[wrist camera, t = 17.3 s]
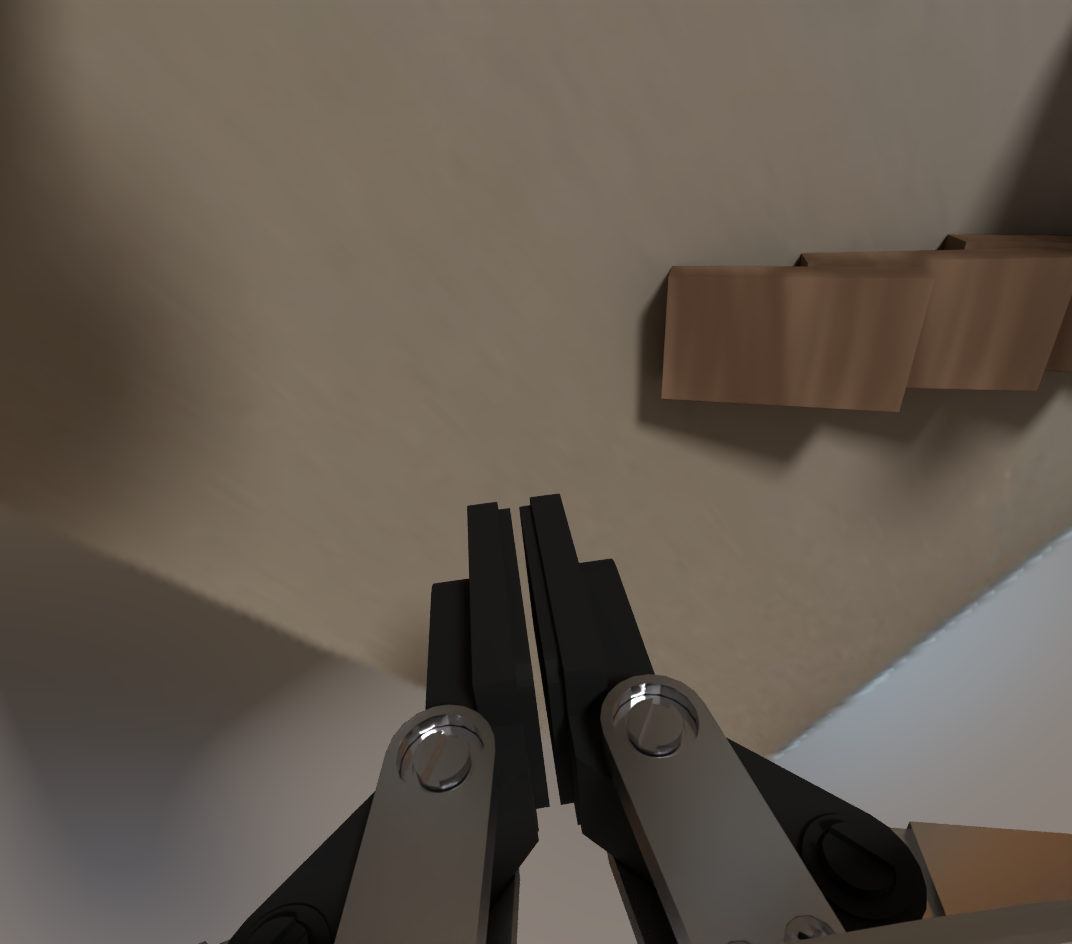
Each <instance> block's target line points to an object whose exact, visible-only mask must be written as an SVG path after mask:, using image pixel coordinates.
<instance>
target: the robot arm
mask: <svg viewBox="0 0 1072 944" xmlns="http://www.w3.org/2000/svg"><path fill="white" fill-rule="evenodd" d="M519 509H520V518H521V526H522V534H523V543H524V551H525V559H526V568H527V576H528V584H529V593H530V601H531V609H532V618H533V625H534V632H535V639H536V645H537V652H538V659H539V665H540V672H541V678H542V685H543V691H544V698H545V704H546V711H547V717H548V724H549V731H550V737H551V744H552V750H553V757H554V763H555V770H556V776H557V783H558V789H559V796H560V802H561V805H563V804H569V803H574V805H575V811H576V817H577V822H578V825H581V829H582V833H583V834H584V835H585V836H587V837H588V838H589V839H591V840H592V841H593V842H595V843H596V844H597V845H599V846H600V847H601V848H603V849H604V850H606V851H607V854H608V860H609V864H610V867H611V870H612V873H613V876H614V879H615V881H616V884H617V887H618V890H619V893H620V895H621V898H622V901H623V904H624V907H625V909H626V912H627V915H628V918H629V921H630V924H631V926H632V929H633V932H634V935H635V938H636V941H637V944H1072V834H1066V833H1052V832H1040V831H1026V830H1014V829H1001V828H987V827H975V826H962V825H949V824H936V823H923V822H909V824H908V827H907V829H901V828H889V827H888V826H886V825H885V824H883V823H882V822H880V821H879V820H877V819H876V818H875V817H873V816H872V815H870V814H868V813H866V812H864V811H863V810H861V809H859V808H857V807H855V806H853V805H851V804H849V803H847V802H846V801H844V800H842V799H840V798H838V797H836V796H834V795H833V794H831V793H829V792H827V791H825V790H823V789H821V788H820V787H818V786H816V785H814V784H812V783H810V782H808V781H806V780H805V779H803V778H801V777H799V776H797V775H795V774H793V773H791V772H790V771H788V770H786V769H784V768H782V767H780V766H778V765H777V764H775V763H773V762H771V761H769V760H767V759H765V758H764V757H762V756H760V755H758V754H756V753H754V752H752V751H750V750H749V749H747V748H745V747H743V746H741V745H739V744H737V743H736V742H734V741H732V740H730V739H728V738H726V737H725V735H724V733H723V732H722V730H721V729H720V727H719V725H718V724H717V722H716V720H715V719H714V717H713V716H712V714H711V712H710V711H709V709H708V708H707V706H706V704H705V703H704V702H703V700H702V699H701V698H700V697H699V696H698V694H697V693H696V692H695V691H694V690H692V689H691V688H689V687H688V686H687V685H685V684H684V683H682V682H681V681H678V680H675V679H672V678H670V677H667V676H661V675H655V674H654V671H653V668H652V665H651V663H650V660H649V657H648V654H647V651H646V649H645V646H644V643H643V640H642V637H641V635H640V632H639V629H638V626H637V623H636V621H635V618H634V615H633V612H632V609H631V606H630V604H629V601H628V598H627V595H626V592H625V590H624V587H623V584H622V581H621V578H620V576H619V573H618V570H617V567H616V565H615V562H614V561H613V559H605V560H598V561H591V562H583V563H579V562H578V558H577V555H576V551H575V547H574V544H573V540H572V536H571V533H570V529H569V526H568V522H567V518H566V515H565V511H564V507H563V504H562V500H561V497H560V494H552V495H544V496H537V497H530V505H529V506H522V507H519ZM467 517H468V550H469V579H463V580H456V581H449V582H442V583H435V584H433V586H432V592H431V610H430V629H429V649H428V669H427V689H426V710H425V711H423V712H420V713H418V714H416V715H415V716H414V717H412V718H411V719H410V720H408V721H407V722H406V723H404V724H403V725H402V726H401V728H400V729H399V730H398V731H397V733H396V734H395V735H394V736H393V738H392V740H391V742H390V744H389V747H388V749H387V751H386V754H385V758H384V761H383V765H382V768H381V772H380V776H379V780H378V783H377V787H376V791H375V792H374V793H373V794H372V795H371V796H370V797H369V798H368V799H367V800H366V801H365V802H364V803H363V804H362V805H361V806H360V807H359V808H358V809H357V810H356V811H355V812H354V813H353V814H352V815H351V816H350V817H349V818H348V819H347V820H346V821H345V822H344V823H343V824H342V825H341V826H340V827H339V828H338V829H337V830H336V831H335V832H334V833H333V834H332V835H331V836H330V837H329V838H328V839H327V840H326V841H325V842H324V843H323V844H322V845H321V846H320V847H319V848H318V849H317V850H316V851H315V852H314V853H313V854H312V855H311V856H310V857H309V858H308V859H307V860H306V861H305V862H304V863H303V864H302V865H301V866H300V867H299V868H298V869H297V870H296V871H295V872H294V873H293V874H292V875H291V876H290V877H289V878H288V879H287V880H286V881H285V882H284V883H283V884H282V885H281V886H280V887H279V888H278V889H277V890H276V891H275V892H274V893H273V894H272V895H271V896H270V897H269V898H268V899H267V900H266V901H265V902H264V903H263V904H262V905H261V906H260V907H259V908H258V909H257V910H256V911H255V912H254V913H253V914H252V915H251V916H250V917H249V918H248V919H247V920H246V921H245V922H244V923H243V924H242V926H241V927H240V928H239V929H238V931H237V932H236V933H235V934H234V935H233V937H232V938H231V939H230V940H228V941H225V942H223V943H220V944H517V928H518V927H517V926H518V909H519V888H520V873H519V867H520V865H521V864H522V863H523V861H524V860H525V859H526V857H527V856H528V854H529V853H530V852H531V850H532V849H533V848H534V846H535V845H536V844H537V842H538V841H539V839H538V831H539V829H538V821H537V812H536V809H538V808H544V807H550V806H549V798H548V789H547V782H546V774H545V766H544V758H543V751H542V742H541V735H540V727H539V719H538V711H537V703H536V696H535V688H534V680H533V673H532V665H531V658H530V651H529V644H528V636H527V629H526V622H525V615H524V607H523V600H522V593H521V586H520V578H519V571H518V564H517V557H516V549H515V542H514V535H513V528H512V520H511V513H510V508H507V509H500V510H498V504H497V502H492V503H485V504H477V505H470V506H467ZM200 944H207V943H206V941H204V942H202V943H200Z"/></svg>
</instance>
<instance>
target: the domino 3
mask: <svg viewBox="0 0 1072 944" xmlns="http://www.w3.org/2000/svg"><path fill="white" fill-rule="evenodd" d="M1052 247H1058V248H1061V249H1064V250H1066V251H1069V252H1072V235H948V236H947V239H946V243H945V246H944V250H970V249H1011V248H1052ZM1045 371H1064V372H1072V295H1071V298H1070V301H1069V304H1068V306H1067V309H1066V312H1065V315H1064V318H1063V320H1062V323H1061V326H1060V329H1059V332H1058V334H1057V337H1056V340H1055V343H1054V346H1053V348H1052V351H1051V354H1050V357H1049V360H1048V362H1047V365H1046V368H1045Z"/></svg>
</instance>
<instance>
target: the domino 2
mask: <svg viewBox="0 0 1072 944" xmlns="http://www.w3.org/2000/svg"><path fill="white" fill-rule="evenodd" d="M800 267H920V268H922V269H923V270H924V271H926V272H927V273H928V274H930V275H931V276H932V277H933V278H935V280H934V284H933V288H932V292H931V295H930V299H929V303H928V306H927V310H926V314H925V318H924V321H923V325H922V329H921V333H920V336H919V340H918V344H917V348H916V351H915V355H914V359H913V363H912V366H911V370H910V374H909V378H908V381H907V385H906V388H935V389H975V390H1015V391H1037V390H1038V388H1039V385H1040V382H1041V379H1042V376H1043V374H1044V371H1045V368H1046V365H1047V362H1048V360H1049V357H1050V354H1051V351H1052V348H1053V346H1054V343H1055V340H1056V337H1057V334H1058V332H1059V329H1060V326H1061V323H1062V320H1063V318H1064V315H1065V312H1066V309H1067V306H1068V304H1069V301H1070V298H1071V295H1072V252H1069V251H1066V250H1064V249H1061V248H1058V247H1052V248H1011V249H970V250H929V251H888V252H847V253H806V254H802V255H801V262H800Z"/></svg>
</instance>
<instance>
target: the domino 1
mask: <svg viewBox="0 0 1072 944" xmlns="http://www.w3.org/2000/svg"><path fill="white" fill-rule="evenodd" d="M934 280H935V278H933V277H932V276H931V275H930V274H928V273H927V272H926V271H924V270H923V269H922V268H920V267H762V266H672V269H671V271H670V274H669V276H668V292H667V309H666V327H665V345H664V362H663V380H662V397H661V399H677V400H694V401H712V402H729V403H747V404H765V405H782V406H800V407H817V408H835V409H852V410H870V411H887V412H899V411H900V408H901V404H902V400H903V396H904V393H905V389H906V385H907V381H908V378H909V374H910V370H911V366H912V363H913V359H914V355H915V351H916V348H917V344H918V340H919V336H920V333H921V329H922V325H923V321H924V318H925V314H926V310H927V306H928V303H929V299H930V295H931V292H932V288H933V284H934Z"/></svg>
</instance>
